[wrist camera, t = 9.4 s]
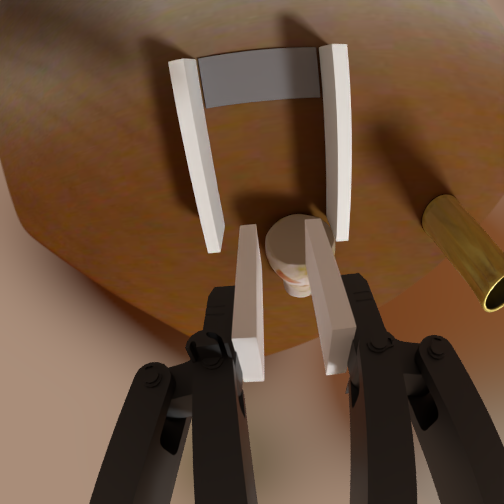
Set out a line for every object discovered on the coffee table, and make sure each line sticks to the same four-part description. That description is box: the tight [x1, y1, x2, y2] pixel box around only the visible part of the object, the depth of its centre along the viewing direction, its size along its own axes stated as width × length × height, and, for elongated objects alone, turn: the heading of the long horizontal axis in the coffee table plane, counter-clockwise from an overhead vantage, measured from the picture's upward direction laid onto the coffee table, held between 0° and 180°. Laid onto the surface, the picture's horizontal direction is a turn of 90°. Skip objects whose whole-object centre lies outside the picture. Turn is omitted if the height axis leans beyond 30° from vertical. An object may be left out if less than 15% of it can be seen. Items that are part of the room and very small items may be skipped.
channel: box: [168, 44, 352, 253], centre depth 25 cm, size 18×14×5 cm
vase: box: [422, 195, 504, 312], centre depth 26 cm, size 6×6×14 cm
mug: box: [265, 214, 336, 297], centre depth 32 cm, size 8×10×10 cm
